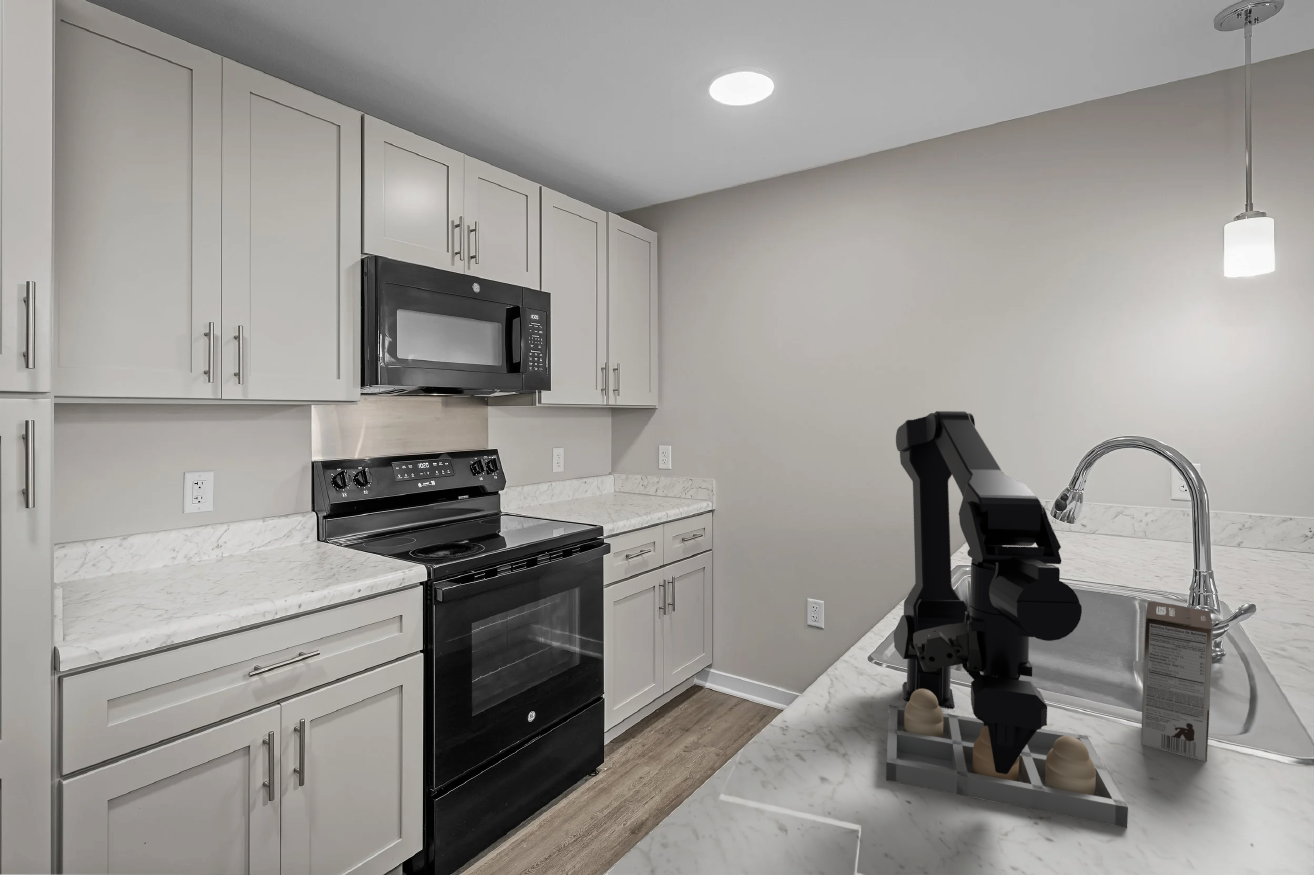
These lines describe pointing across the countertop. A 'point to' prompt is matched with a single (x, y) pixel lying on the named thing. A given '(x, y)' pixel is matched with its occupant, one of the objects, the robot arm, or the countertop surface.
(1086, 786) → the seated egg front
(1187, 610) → the coffee box
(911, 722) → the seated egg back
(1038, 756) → the egg carton
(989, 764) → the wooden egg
